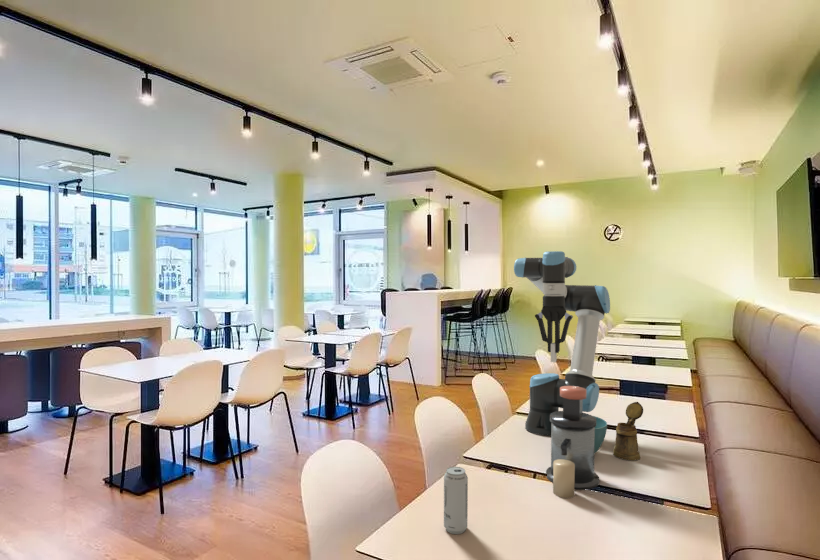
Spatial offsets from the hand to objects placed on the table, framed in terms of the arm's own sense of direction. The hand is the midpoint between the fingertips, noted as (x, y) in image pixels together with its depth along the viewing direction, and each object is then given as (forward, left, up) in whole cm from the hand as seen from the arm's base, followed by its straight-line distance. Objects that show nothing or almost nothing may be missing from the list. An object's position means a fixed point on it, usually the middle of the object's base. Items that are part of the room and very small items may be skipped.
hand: (553, 361), depth 168 cm
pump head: (+17, -5, -14) cm, 22 cm away
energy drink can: (+32, -53, -34) cm, 71 cm away
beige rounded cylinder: (+24, -14, -34) cm, 44 cm away
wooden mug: (+7, +28, -34) cm, 45 cm away
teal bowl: (+1, +11, -34) cm, 36 cm away
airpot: (+18, -7, -34) cm, 39 cm away
